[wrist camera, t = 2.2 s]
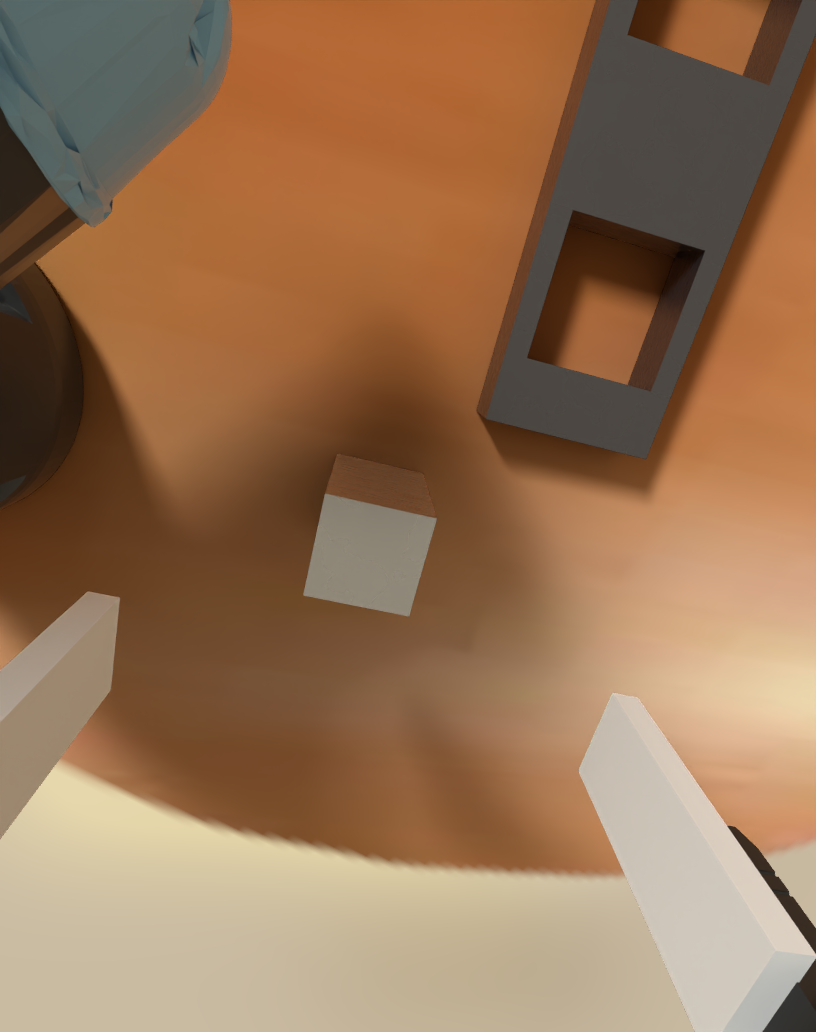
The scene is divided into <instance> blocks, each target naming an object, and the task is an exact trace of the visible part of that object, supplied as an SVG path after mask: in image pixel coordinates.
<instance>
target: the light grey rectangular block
mask: <svg viewBox="0 0 816 1032" xmlns="http://www.w3.org/2000/svg"><path fill="white" fill-rule="evenodd" d="M436 520H437V517H436V514H435V510H434V507H433V504H432V500H431V497H430V494H429V491H428V487H427V484H426V481H425V477H424V474H423V473H419V472H415V471H411V470H407V469H402V468H398V467H394V466H390V465H385V464H381V463H377V462H373V461H368V460H364V459H360V458H356V457H351V456H347V455H343V454H339V453H337V456H336V460H335V463H334V466H333V469H332V473H331V476H330V479H329V482H328V485H327V489H326V492H325V496H324V500H323V505H322V510H321V514H320V519H319V524H318V528H317V533H316V538H315V542H314V547H313V552H312V556H311V561H310V566H309V570H308V575H307V580H306V584H305V589H304V594H303V596H308V597H313V598H318V599H323V600H328V601H333V602H338V603H343V604H348V605H353V606H358V607H363V608H368V609H373V610H379V611H384V612H389V613H394V614H399V615H404V616H409V615H410V611H411V608H412V604H413V601H414V597H415V594H416V590H417V587H418V583H419V580H420V576H421V573H422V569H423V566H424V562H425V559H426V555H427V552H428V548H429V545H430V541H431V538H432V534H433V531H434V527H435V524H436Z"/></svg>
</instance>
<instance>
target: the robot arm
mask: <svg viewBox="0 0 816 1032" xmlns="http://www.w3.org/2000/svg"><path fill="white" fill-rule="evenodd" d="M231 41H232V15H231V6H230V0H0V510H1V509H3V508H5V507H7V506H9V505H11V504H13V503H15V502H17V501H19V500H21V499H23V498H25V497H26V496H28V495H30V494H31V493H33V492H34V491H35V490H37V489H38V488H39V487H41V486H42V485H43V484H44V483H45V482H46V481H47V480H48V479H49V478H50V477H51V476H52V475H53V474H54V473H55V472H56V470H57V469H58V468H59V466H60V465H61V464H62V462H63V461H64V459H65V457H66V456H67V454H68V452H69V450H70V448H71V446H72V444H73V441H74V439H75V436H76V433H77V430H78V426H79V423H80V418H81V412H82V404H83V376H82V368H81V361H80V356H79V351H78V348H77V344H76V340H75V337H74V334H73V331H72V328H71V326H70V323H69V321H68V318H67V316H66V314H65V312H64V310H63V308H62V306H61V304H60V302H59V300H58V298H57V296H56V294H55V293H54V291H53V289H52V288H51V286H50V285H49V283H48V282H47V280H46V279H45V277H44V276H43V274H42V273H41V272H40V270H39V269H38V268H37V266H36V265H35V264H34V263H35V262H36V261H37V260H38V259H40V258H41V257H42V256H44V255H45V254H46V253H47V252H49V251H50V250H51V249H53V248H54V247H55V246H56V245H58V244H59V243H60V242H62V241H63V240H64V239H65V238H67V237H68V236H69V235H70V234H72V233H73V232H74V231H76V230H77V229H78V228H79V227H81V226H82V225H83V224H85V223H87V224H88V225H89V226H91V227H95V226H97V225H98V224H100V223H101V222H103V221H104V220H105V219H106V218H107V217H108V215H109V214H110V213H111V212H112V199H113V197H114V196H115V195H116V194H117V193H119V192H120V191H121V190H122V189H123V188H124V187H125V186H126V185H127V184H128V183H129V182H130V181H131V180H132V179H133V178H134V177H135V176H136V175H137V174H138V173H139V172H140V171H141V170H142V169H143V168H144V167H145V166H146V165H147V164H148V163H149V162H150V161H151V160H153V159H154V158H155V157H156V156H157V155H158V154H159V153H160V152H161V151H162V150H163V149H164V148H165V147H166V146H167V145H169V144H170V143H171V142H172V141H173V140H174V139H175V138H176V137H177V136H179V135H180V134H181V133H182V132H183V131H184V130H185V129H186V128H187V127H189V126H190V125H191V124H192V123H193V122H194V121H195V120H196V119H197V118H199V117H200V116H201V114H202V113H203V112H204V111H205V110H206V109H207V108H208V106H209V105H210V104H211V102H212V101H213V99H214V98H215V96H216V94H217V93H218V91H219V89H220V86H221V84H222V81H223V79H224V76H225V74H226V70H227V65H228V60H229V55H230V49H231ZM119 603H120V597H115V596H110V595H105V594H99V593H94V592H89V591H87V592H86V593H85V594H84V595H83V596H82V597H81V598H80V599H79V600H77V601H76V602H75V603H74V604H73V605H72V606H71V607H70V608H69V609H68V610H66V611H65V612H64V613H63V614H62V615H61V616H60V617H59V618H58V619H56V620H55V621H54V622H53V623H52V624H51V625H50V626H49V627H48V628H47V629H45V630H44V631H43V632H42V633H41V634H40V635H39V636H38V637H37V638H35V639H34V640H33V641H32V642H31V643H30V644H29V645H28V646H27V647H26V648H24V649H23V650H22V651H21V652H20V653H19V654H18V655H17V656H16V657H14V658H13V659H12V660H11V661H10V662H9V663H8V664H7V665H6V666H5V667H3V668H2V669H1V670H0V839H1V838H2V836H3V835H4V833H5V832H6V831H7V829H8V828H9V827H10V825H11V824H12V823H13V821H14V820H15V819H16V817H17V816H18V814H19V813H20V812H21V810H22V809H23V808H24V806H25V805H26V804H27V802H28V801H29V800H30V798H31V797H32V796H33V794H34V793H35V792H36V790H37V789H38V787H39V786H40V785H41V784H42V782H43V781H44V779H45V778H46V777H47V775H48V774H49V773H50V771H51V770H52V769H53V767H54V766H55V765H56V763H57V762H58V761H59V759H60V758H61V757H62V755H63V754H64V753H65V751H66V750H67V748H68V747H69V746H70V744H71V743H72V742H73V740H74V739H75V738H76V736H77V735H78V734H79V732H80V731H81V730H82V728H83V727H84V726H85V724H86V723H87V721H88V720H89V719H90V717H91V716H92V715H93V713H94V712H95V711H96V709H97V708H98V707H99V705H100V704H101V703H102V701H103V700H104V699H105V697H106V696H107V695H108V693H109V692H110V690H111V684H112V674H113V664H114V654H115V644H116V634H117V623H118V613H119ZM578 771H579V773H580V776H581V778H582V780H583V782H584V785H585V787H586V789H587V791H588V794H589V796H590V798H591V800H592V802H593V805H594V807H595V809H596V811H597V814H598V816H599V818H600V820H601V823H602V825H603V827H604V829H605V832H606V834H607V836H608V838H609V841H610V843H611V845H612V847H613V850H614V852H615V854H616V856H617V859H618V861H619V863H620V865H621V868H622V870H623V872H624V874H625V877H626V879H627V881H628V883H629V886H630V888H631V890H632V892H633V894H634V897H635V899H636V901H637V903H638V906H639V908H640V910H641V912H642V915H643V917H644V919H645V921H646V923H647V926H648V928H649V930H650V933H651V935H652V937H653V939H654V942H655V944H656V946H657V948H658V951H659V953H660V955H661V957H662V959H663V962H664V964H665V966H666V969H667V971H668V973H669V975H670V978H671V980H672V982H673V984H674V987H675V989H676V991H677V993H678V995H679V998H680V1000H681V1002H682V1005H683V1006H684V1009H685V1011H686V1013H687V1016H688V1018H689V1020H690V1022H691V1025H692V1027H693V1029H694V1031H695V1032H816V928H815V927H814V925H813V924H812V923H811V921H810V920H809V919H808V917H807V916H806V914H805V913H804V912H803V910H802V909H801V907H800V906H799V905H798V903H797V902H796V900H795V899H794V898H793V897H791V896H790V895H789V891H788V889H787V888H786V887H785V885H784V884H783V883H782V881H781V880H780V878H779V877H776V876H775V871H774V870H773V869H772V867H771V866H770V864H769V863H768V862H767V860H766V859H765V858H764V856H763V855H762V853H761V852H760V851H759V849H758V848H757V847H756V846H755V845H754V844H753V843H752V842H751V841H750V840H748V839H747V838H746V837H745V836H744V835H743V834H742V833H741V832H740V831H739V830H738V829H737V828H736V827H733V826H727V825H726V824H725V822H724V821H723V820H722V818H721V817H720V815H719V814H718V812H717V811H716V809H715V808H714V807H713V805H712V804H711V802H710V801H709V799H708V798H707V796H706V795H705V794H704V792H703V791H702V789H701V788H700V786H699V785H698V784H697V782H696V781H695V779H694V778H693V776H692V775H691V773H690V772H689V771H688V769H687V768H686V766H685V765H684V763H683V762H682V760H681V759H680V758H679V756H678V755H677V753H676V752H675V750H674V749H673V747H672V746H671V745H670V743H669V742H668V740H667V739H666V737H665V736H664V734H663V733H662V732H661V730H660V729H659V727H658V726H657V724H656V723H655V722H654V720H653V719H652V717H651V716H650V714H649V713H648V711H647V710H646V709H645V707H644V706H643V704H642V703H641V701H640V700H639V698H638V697H632V696H627V695H622V694H617V693H612V695H611V697H610V699H609V701H608V704H607V706H606V708H605V711H604V713H603V715H602V718H601V720H600V722H599V724H598V727H597V729H596V731H595V734H594V736H593V738H592V740H591V743H590V745H589V747H588V750H587V752H586V754H585V756H584V759H583V761H582V763H581V766H580V768H579V770H578Z"/></svg>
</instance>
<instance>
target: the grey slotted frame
mask: <svg viewBox="0 0 816 1032" xmlns="http://www.w3.org/2000/svg"><path fill="white" fill-rule="evenodd" d="M637 2H638V0H596V2H595V5H594V8H593V12H592V15H591V19H590V22H589V26H588V29H587V32H586V36H585V39H584V43H583V46H582V50H581V53H580V57H579V60H578V63H577V67H576V70H575V74H574V77H573V81H572V84H571V87H570V91H569V94H568V98H567V101H566V105H565V108H564V112H563V115H562V118H561V122H560V125H559V129H558V132H557V136H556V139H555V142H554V146H553V149H552V153H551V156H550V160H549V163H548V166H547V170H546V173H545V177H544V180H543V184H542V187H541V191H540V194H539V197H538V201H537V204H536V208H535V211H534V215H533V218H532V221H531V225H530V228H529V232H528V235H527V239H526V242H525V246H524V249H523V252H522V256H521V259H520V263H519V266H518V270H517V273H516V276H515V280H514V283H513V287H512V290H511V294H510V297H509V300H508V304H507V307H506V311H505V314H504V318H503V321H502V325H501V328H500V331H499V335H498V338H497V342H496V345H495V349H494V352H493V355H492V359H491V362H490V366H489V369H488V373H487V376H486V380H485V383H484V386H483V390H482V393H481V397H480V400H479V404H478V407H477V410H476V411H477V412H478V413H480V414H481V415H482V416H483V417H484V418H485V419H488V420H492V421H496V422H500V423H504V424H508V425H512V426H516V427H520V428H524V429H528V430H532V431H536V432H540V433H544V434H548V435H552V436H556V437H560V438H564V439H568V440H572V441H576V442H579V443H583V444H587V445H591V446H595V447H599V448H603V449H607V450H611V451H615V452H619V453H623V454H627V455H631V456H635V457H639V458H643V459H646V458H647V455H648V453H649V450H650V448H651V445H652V443H653V440H654V438H655V435H656V433H657V430H658V428H659V425H660V423H661V420H662V418H663V415H664V413H665V410H666V408H667V405H668V403H669V400H670V398H671V395H672V393H673V390H674V388H675V385H676V383H677V380H678V378H679V375H680V373H681V370H682V368H683V365H684V363H685V360H686V358H687V355H688V353H689V350H690V348H691V345H692V343H693V340H694V338H695V335H696V333H697V330H698V328H699V325H700V323H701V320H702V318H703V315H704V313H705V310H706V308H707V305H708V303H709V300H710V298H711V295H712V293H713V290H714V288H715V285H716V282H717V280H718V277H719V275H720V272H721V270H722V267H723V265H724V262H725V260H726V257H727V255H728V252H729V250H730V247H731V245H732V242H733V240H734V237H735V235H736V232H737V230H738V227H739V225H740V222H741V220H742V217H743V215H744V212H745V210H746V207H747V205H748V202H749V200H750V197H751V195H752V192H753V190H754V187H755V185H756V182H757V180H758V177H759V175H760V172H761V170H762V167H763V165H764V162H765V160H766V157H767V155H768V152H769V150H770V147H771V145H772V142H773V140H774V137H775V135H776V132H777V130H778V127H779V125H780V122H781V120H782V117H783V115H784V112H785V110H786V107H787V105H788V102H789V100H790V97H791V95H792V92H793V90H794V87H795V85H796V82H797V80H798V77H799V75H800V72H801V70H802V67H803V65H804V62H805V60H806V57H807V55H808V52H809V50H810V47H811V45H812V42H813V40H814V37H815V35H816V0H771V1H770V4H769V7H768V9H767V12H766V15H765V18H764V20H763V23H762V26H761V28H760V31H759V34H758V36H757V39H756V42H755V44H754V47H753V50H752V52H751V55H750V58H749V60H748V63H747V66H746V69H745V71H744V74H743V76H741V75H738V74H736V73H733V72H730V71H727V70H725V69H722V68H719V67H716V66H713V65H711V64H708V63H705V62H702V61H699V60H697V59H694V58H691V57H688V56H685V55H683V54H680V53H677V52H674V51H671V50H669V49H666V48H663V47H660V46H657V45H655V44H652V43H649V42H646V41H644V40H641V39H638V38H635V37H632V36H630V35H627V34H628V31H629V28H630V25H631V21H632V18H633V15H634V12H635V8H636V5H637ZM568 225H571V226H574V227H577V228H581V229H584V230H587V231H590V232H594V233H597V234H600V235H604V236H607V237H610V238H613V239H617V240H620V241H623V242H626V243H630V244H633V245H636V246H640V247H643V248H646V249H649V250H653V251H656V252H659V253H663V254H666V255H669V256H672V257H675V259H674V262H673V265H672V267H671V270H670V273H669V275H668V278H667V281H666V283H665V286H664V289H663V292H662V294H661V297H660V300H659V302H658V305H657V308H656V310H655V313H654V316H653V318H652V321H651V324H650V326H649V329H648V332H647V334H646V337H645V340H644V343H643V345H642V348H641V351H640V353H639V356H638V359H637V361H636V364H635V367H634V369H633V372H632V375H631V377H630V380H629V383H628V385H625V384H621V383H618V382H614V381H610V380H606V379H603V378H599V377H595V376H592V375H588V374H584V373H580V372H577V371H573V370H569V369H566V368H562V367H558V366H554V365H551V364H547V363H543V362H540V361H536V360H532V359H528V358H527V356H528V353H529V350H530V347H531V343H532V340H533V337H534V334H535V330H536V327H537V324H538V321H539V318H540V314H541V311H542V308H543V305H544V301H545V298H546V295H547V292H548V289H549V285H550V282H551V279H552V276H553V272H554V269H555V266H556V263H557V260H558V256H559V253H560V250H561V247H562V243H563V240H564V237H565V234H566V231H567V227H568Z"/></svg>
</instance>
